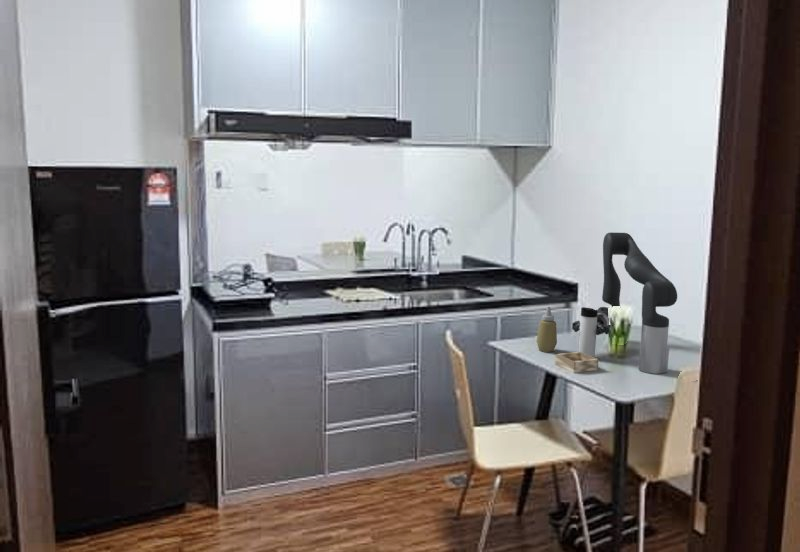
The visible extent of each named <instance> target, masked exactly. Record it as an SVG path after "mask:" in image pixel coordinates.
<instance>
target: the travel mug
mask: <svg viewBox="0 0 800 552" xmlns="http://www.w3.org/2000/svg"><path fill="white" fill-rule="evenodd" d="M580 309H581V310H580V319H579V321H580V330H579V337H578V351H577V352H582V353H584V354H587V355H589V356H592V357H594V358H596V357H595V356H596V354H595V353H596V344H597V341H596V340H597V335H596V330H597V313H598V309H594V308H591V307H586V306H585V307H583V306H582V307H580Z"/></svg>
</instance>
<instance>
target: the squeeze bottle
mask: <svg viewBox="0 0 800 552" xmlns="http://www.w3.org/2000/svg"><path fill="white" fill-rule="evenodd" d="M545 310H546V311H545V313H544V314H543V315H542V316H541V320H540V321H539V324H538V330H537V335H536V345H537V348H538V350H539V351H540V352H544V353H552V352H554V351H555V349H556V346H557V343H558V341H557V340H558V338H557V337H558V336H557V331H558V330H557V322H556V321H555V316H554V315H553V314H552V309H551V306H547V307H546V309H545Z"/></svg>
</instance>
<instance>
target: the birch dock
mask: <svg viewBox="0 0 800 552" xmlns="http://www.w3.org/2000/svg"><path fill="white" fill-rule="evenodd" d="M554 362H555V363H554V365H555V366H557V367H560V368H561V369H564V370H566V371H569V372H571V373H573V374H577V373H582V372H591V371H599V358H597V357H595V358H594V357H592V356H589V355H587V354H584V353H582V352H578V351H572V352H565V353H557V354H555V361H554Z"/></svg>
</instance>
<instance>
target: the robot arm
mask: <svg viewBox="0 0 800 552" xmlns="http://www.w3.org/2000/svg"><path fill="white" fill-rule="evenodd" d="M613 255H614V256H617V255H619V256H626V257H625V259H624V263H623V264H624V269H625V271H626V272H627V274H628V275H629V276H630V278H632V280H634V281H635V282H637V283H640V284H641V285H643V287H642V295H641V330H640V331H641V333H640V347H639V355H638V356H639V359H638V370H639V371H641V372H643V373H648V374H654V375H655V374H657V375H659V374H664V373H668V368H669V355H670V347H669V346H668V338H669V330H670V328H669V327H670V318H669V317H667V316H665V315H663V314H660V313H658V312H657V308H660V307H661V308H663V307H664V308H667V307H671V306H674V305H675V304H676V303H677V300H678V292H677V289H676V286H675V285H674V283H673V282H671V281H670V280H669V278H667V277H666V276H664V275H663V274H662V273H661V272H660V271H659V270H658V269H657V268H656V267H655V265H654V264H653V263H652V261H651V260H649V258H647V256H646V255H645V254H644V253H643V251H642V250H641V249H640V248H639V247H638V244H637V243H636V241H635V240H634V238H633V236H631V234H629V233H627V232H607V233H605V235H604V237H603V241H602V261H603V265H602V266H603V285H602V286H603V288H602V295H601V300H602V302H604V303H605V304H608V305H609V306H611V308H612V307H613V306H620V307H621V303H620V297H621V296H620V295H621V289H622V286H621V285H622V283H621V279H620V277H619V275H618V273H617V271H616V269H615V267H614V263H613ZM608 308H609V307H606V306H600V307H598V309H597V310H598V313H597V330H596V336H600V335H603V334H605V335H608V334H610V333H611V331H612V325H609V318H608ZM571 329H572V330H573V331H574V333H577V332H580V320H576V321H573V322H572V326H571Z"/></svg>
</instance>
